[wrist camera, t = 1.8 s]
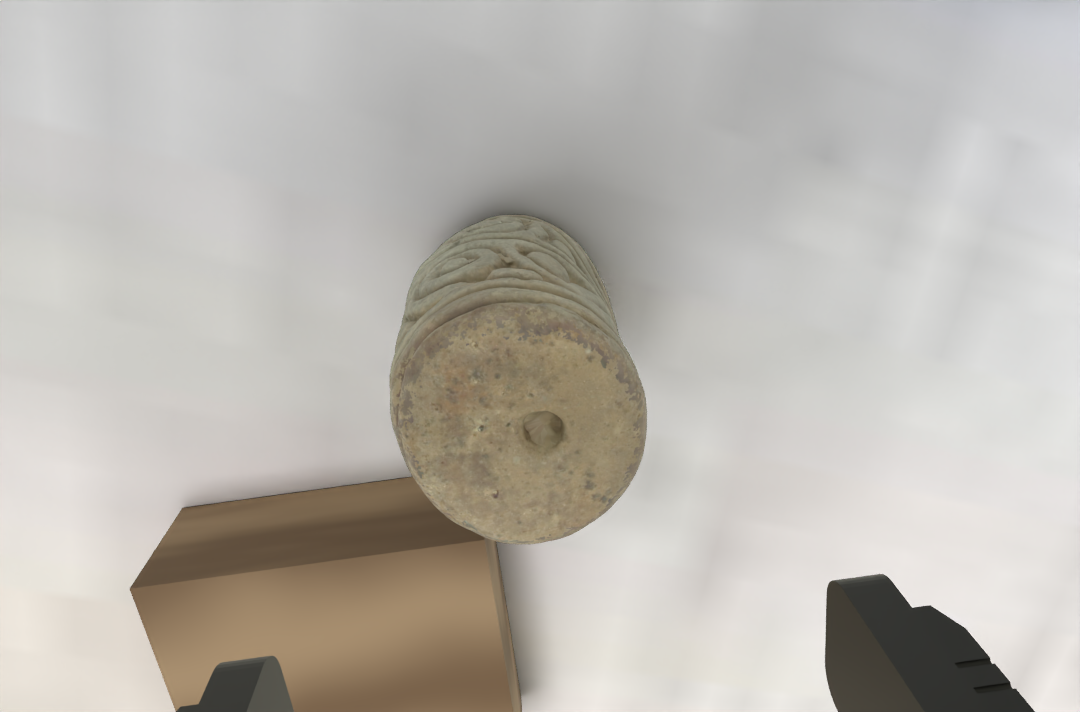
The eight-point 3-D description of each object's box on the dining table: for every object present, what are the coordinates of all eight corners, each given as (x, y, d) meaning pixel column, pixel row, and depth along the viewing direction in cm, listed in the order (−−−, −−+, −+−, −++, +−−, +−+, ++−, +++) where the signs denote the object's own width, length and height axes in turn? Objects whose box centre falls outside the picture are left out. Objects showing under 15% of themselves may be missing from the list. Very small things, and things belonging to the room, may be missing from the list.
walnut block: (182, 508, 31) (129, 588, 26) (484, 467, 31) (484, 539, 27) (257, 734, 35) (223, 838, 31) (521, 696, 36) (527, 793, 31)
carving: (514, 155, 27) (538, 229, 16) (640, 316, 29) (737, 478, 18) (376, 268, 28) (307, 412, 17) (508, 415, 31) (524, 624, 19)
